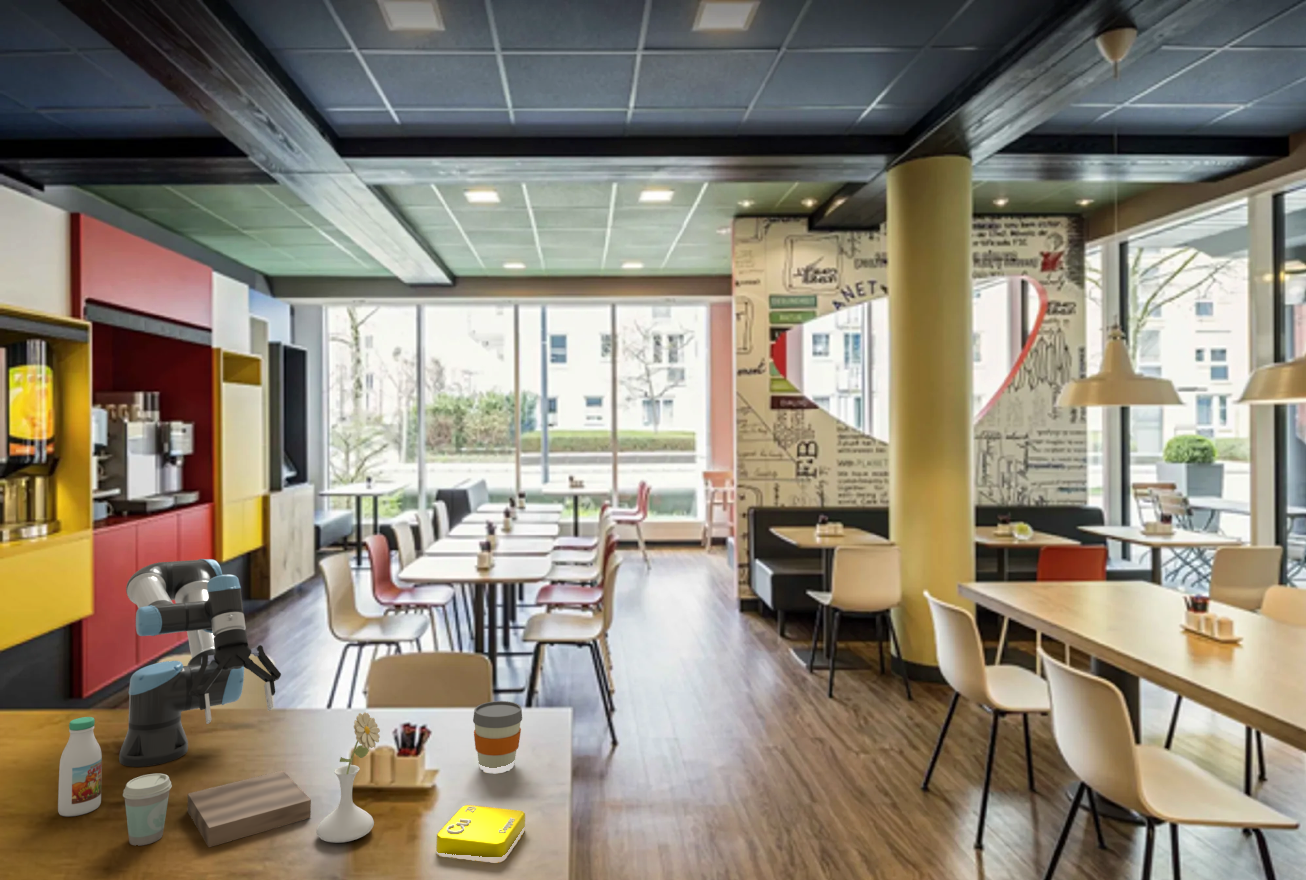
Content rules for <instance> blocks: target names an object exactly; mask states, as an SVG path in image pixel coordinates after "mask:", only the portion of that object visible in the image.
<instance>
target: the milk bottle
mask: <svg viewBox="0 0 1306 880" xmlns="http://www.w3.org/2000/svg"><path fill="white" fill-rule="evenodd" d="M68 723H69V724H68V727H69V728H68V729H69V730H68V733H69V738H68V742H67V743H66V745H65V746H64V748H63V750H62V754H60V755H61V756H60V759H59V768H58V770H59V771H58V772H59V773H58V792H57V793H58V797H57V798H58V799H57V811H58V814H59V815H60V816H62V817H76V816H77V817H78V816H82V815H86V814H88V813H91V812H93V811H95V810H96V809H98V808H99V807H100V805H101V803H102V778H103V777H102V775H103V774H102V772H103V771H102V769H103V767H102V766H103V756H102V749H101V746H100V744H99V742H98V740H97V739H96V736H95V734H94V729H95V723H96V721H95V718H94V717H92V716H83V717H79V718H74V719H72V720H71V721H69V722H68Z"/></svg>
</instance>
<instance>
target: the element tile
mask: <svg viewBox="0 0 1306 880" xmlns="http://www.w3.org/2000/svg"><path fill="white" fill-rule="evenodd" d="M524 827H525V828H526V813H525V811H523V810H520V809H519V810H518V809H509V808H499V807H493V806H492V807H491V806H481V805H472V804H465V805H463V806H461V807H460V808H459V809H458V810H457V811H456V812H455V813H454V814H453V816H451V818H450V819H448V821H446V823H445V824H444V825H443V826H442V827H441V829H440V830H438V832H437V834H436V844H435V845H436V847H435V848H436V851H437V852H438V853H445V854H446V853H447V854H452V855H453V854H454V855H455V854H456V855H471V856H479V857H480V856H482V857H502V856H503V855H505V854H506V853H507V852H508V850H509V849H510V847H511V846H512V844H513V843H514V841H515V840H516V838H517V837H518V835H519V834H520V832H521V831H522V829H523V828H524ZM436 851H435V852H436Z"/></svg>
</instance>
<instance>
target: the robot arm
mask: <svg viewBox="0 0 1306 880" xmlns="http://www.w3.org/2000/svg"><path fill="white" fill-rule="evenodd" d="M125 588H126V589H125V590H126V596H127V597H128V599H129V601H130V602H132V603H133V604H135V605H136V606H137V610H136V612H135V630H136V634H137V636H140V637H147V636H151V637H155V636H159V635H168V634H169V635H170V634H176V633H183V632H186V633H187V639H188V645H189V650H190V656H191V659H189V660H188V663H187V665H184V664H183V662H182V661H179V660H171V661H170V660H166V661H162V662H157V663H153V664H150V665H147V666H144V667H142V668H140V669H137V670H136V671H135V672H133V674H132V675H131V677H130V679H129V689H128V695H129V698H128V699H129V701H128V727H127V728H128V730H127V732H126V735H125V738H124V740H123V743H122V745H121V748H120V751H119V759H118V760H119V761H118V762H119V763H120V764H121V765H123V766H124V767H134V768H135V767H137V768H140V767H150V766H156V765H157V766H158V765H161V764H165V763H170V762H172V761H175V760H177V759H179V758H181V757H184V756H185V755H186V754H187V752H188V751H189V740H188V738H187V737H188V736H187V735H186V732H185V729H184V728H183V725H182V712H187V711H191V710H197V709H198V710H200V711H203V710H204V714H205V715H204V716H205V723H206V725H207V724H211V721H212V712H211V707H215V706H220V705H221V706H224V705H226V704H227V705H228V704H232V703H234V702H236V701H239V699H240V698H241V696H242V693H243V687H244V681H245V679H244V678H245V669H246V670H248V671H250V672H251V673H253V674H254V675H255V676H257V677H258V678H260V679H261V680H262V681H264V682H265V683H264V685H263V687H264V694H265V695H264V696H265V702H266V707H267V711H268V712H269V711H272V710H273V708H274V702H273V696H274V695H276V694H275V693H276V688H275V687H276V686H275V682H276V681H278V680H279V679H280V678H281V676H282V673H281V672H280V671H279V669H278V668H277V667H276V665H275V664H274V663H273V662H272V660H270V658H269V657H268V656H267V654H266V653H265V650H264V647H263V645H261V644H260V645H258V646H257V647H253V648H250V647H249V642H248V641H249V639H248V634H247V631H246V628H247V627H246V621H245V614H244V605H243V600H242V599H243V598H242V592H241V591H242V587H241V584H240V580H239V577H237V575H235V574H223V572H222V568H221V566H220V563H219V562H218V561H217V560H215V559H212V558H211V559H210V558H208V559H205V558H199V559H190V560H177V561H160V562H159V561H158V562H156V563H151V564H149V565H146V566H143V567H142V568H141V569H139V570H137V571H136V572H135V573H133V574H132V575H131V577H130V578H129V579H128V581H127V583H126V587H125ZM173 601H174V602H175V603H173ZM251 655H253V656H254V657H256V658H257V659H258V660H259V661H260V663H261V664H262V665H263V667H264V669H266V670H267V671H266V670H264V669H263V668H262V667H261V666H259V665H258V664H257V663H255V662H254V660H253V659H251V658H250V656H251Z"/></svg>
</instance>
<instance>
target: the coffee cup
mask: <svg viewBox="0 0 1306 880" xmlns="http://www.w3.org/2000/svg"><path fill="white" fill-rule="evenodd" d="M172 787H173V785H172V781H171V780H170V777H169V775H167V774H165V773H150V774H143V775H140V776H138V777H134V778H133V779H130V780H129V781H128V782H127V783H126V784H125V788H124V789H123V793H122V797H123V798H124V805H125V814H126V822H127V833H128V843H129V844H130V845H131V846H136V845H138V846H140V847H141V846H146V845H151V844H152V843H153V844H154V843H155V842H157V841H159V840H160V839H161V838H162V837H163V836H164V835H163V834H164V829H165V823H166V817H167V808H168V802H169V798H170V797H169V796H170V790H171V788H172Z"/></svg>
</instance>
